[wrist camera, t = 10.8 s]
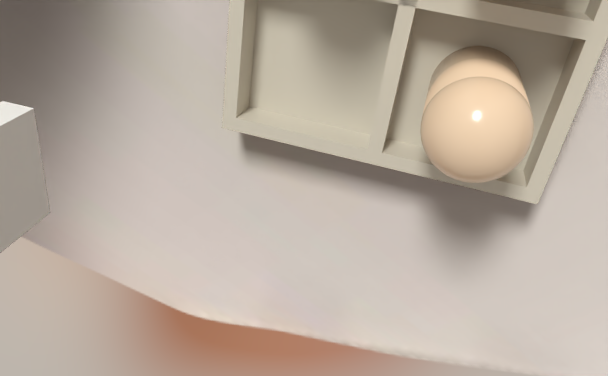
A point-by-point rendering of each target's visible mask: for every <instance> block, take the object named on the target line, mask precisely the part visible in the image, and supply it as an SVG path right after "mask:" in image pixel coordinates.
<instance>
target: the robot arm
mask: <svg viewBox="0 0 608 376" xmlns="http://www.w3.org/2000/svg"><path fill="white" fill-rule="evenodd" d="M49 213H50V208H49V201H48V195H47V189H46V182H45V176H44V169H43V163H42V157H41V150H40V144H39V137H38V131H37V125H36V118H35V112H34V108H31V107H26V106H22V105H18V104H13V103H9V102H5V101H2V102H0V253H1V252H2V251H3V250H4V249H6V248H7V247H8V246H10V245H11V244H12V243H13V242H15V241H16V240H17V239H18V238H20V237H21V236H22V235H23V234H25V233H26V232H27V231H28V230H29V229H31V228H32V227H33V226H34V225H36V224H37V223H38V222H39V221H41V220H42V219H43V218H44V217H46V216H47V215H48V214H49Z"/></svg>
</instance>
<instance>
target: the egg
mask: <svg viewBox="0 0 608 376" xmlns="http://www.w3.org/2000/svg"><path fill="white" fill-rule="evenodd" d="M420 134H421V141H422V145H423V148H424V151H425V153H426V155H427V157H428V158H429V160H430V161H431V162H432V164H433V165H434V166H435V167H436V168H437V169H438V170H439V171H441V172H442V173H443V174H445V175H447V176H448V177H450V178H453V179H455V180H458V181H462V182H467V183H483V182H489V181H492V180H496V179H498V178H501V177H503V176H504V175H506V174H508V173H509V172H511V171H512V170H513V169H514V168H516V167H517V166H518V165H519V163H520V162H521V161H522V160H523V159H524V157H525V156H526V154H527V153H528V150H529V148H530V146H531V143H532V139H533V134H534V120H533V114H532V111H531V108H530V104H529V101H528V98H527V95H526V92H525V88H524V85H523V82H522V79H521V75H520V72H519V70H518V68H517V66H516V65H515V63H514V62H513V61H512V60H511V59H510V58H509V57H508V56H507V55H506V54H504V53H503V52H501V51H499V50H497V49H494V48H491V47H486V46H470V47H465V48H462V49H459V50H457V51H455V52H453V53H451V54H450V55H448V56H447V57H445V58H444V59H443V60H442V61H441V62H440V63H439V65H438V66H437V67H436V69H435V70H434V72H433V74H432V76H431V79H430V83H429V87H428V92H427V97H426V101H425V106H424V110H423V115H422V120H421V129H420Z"/></svg>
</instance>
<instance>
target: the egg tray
mask: <svg viewBox="0 0 608 376" xmlns="http://www.w3.org/2000/svg"><path fill="white" fill-rule="evenodd" d="M607 38H608V0H229V16H228V33H227V51H226V68H225V85H224V102H223V119H222V128H224V129H228V130H232V131H236V132H241V133H245V134H249V135H253V136H257V137H261V138H265V139H269V140H274V141H278V142H282V143H286V144H290V145H294V146H298V147H302V148H307V149H311V150H315V151H319V152H323V153H327V154H331V155H335V156H340V157H344V158H348V159H352V160H356V161H360V162H364V163H368V164H373V165H377V166H381V167H385V168H389V169H393V170H397V171H401V172H406V173H410V174H414V175H418V176H422V177H426V178H430V179H434V180H439V181H443V182H447V183H451V184H455V185H459V186H463V187H467V188H471V189H476V190H480V191H484V192H488V193H492V194H496V195H500V196H504V197H509V198H513V199H517V200H521V201H525V202H529V203H533V204H538V202H539V200H540V197H541V195H542V192H543V190H544V188H545V185H546V183H547V181H548V178H549V176H550V174H551V171H552V169H553V166H554V164H555V162H556V159H557V157H558V155H559V152H560V150H561V147H562V145H563V143H564V140H565V138H566V136H567V133H568V131H569V129H570V126H571V124H572V121H573V119H574V117H575V114H576V112H577V110H578V107H579V105H580V102H581V100H582V98H583V95H584V93H585V91H586V88H587V86H588V84H589V81H590V79H591V76H592V74H593V72H594V69H595V67H596V65H597V62H598V60H599V57H600V55H601V53H602V50H603V48H604V46H605V43H606V41H607ZM470 46H486V47H491V48H494V49H497V50H499V51H501V52H503V53H504V54H506V55H507V56H508V57H509V58H510V59H511V60H512V61H513V62H514V63H515V65H516V66H517V68H518V70H519V72H520V75H521V79H522V82H523V85H524V88H525V92H526V95H527V98H528V101H529V104H530V108H531V111H532V114H533V120H534V134H533V139H532V143H531V146H530V148H529V150H528V153H527V154H526V156H525V157H524V159H523V160H522V161H521V162H520V163H519V165H518V166H517V167H516V168H514V169H513V170H512V171H511V172H509V173H508V174H506V175H504V176H503V177H501V178H498V179H496V180H492V181H489V182H483V183H467V182H462V181H458V180H455V179H453V178H450V177H448V176H447V175H445V174H443V173H442V172H441V171H439V170H438V169H437V168H436V167H435V166H434V165H433V164H432V162H431V161H430V160H429V158H428V157H427V155H426V153H425V151H424V148H423V145H422V141H421V134H420V129H421V120H422V115H423V110H424V106H425V101H426V97H427V92H428V87H429V83H430V79H431V76H432V74H433V72H434V70H435V69H436V67H437V66H438V65H439V63H440V62H441V61H442V60H443V59H444V58H445V57H447V56H448V55H450V54H451V53H453V52H455V51H457V50H459V49H462V48H465V47H470Z"/></svg>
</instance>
